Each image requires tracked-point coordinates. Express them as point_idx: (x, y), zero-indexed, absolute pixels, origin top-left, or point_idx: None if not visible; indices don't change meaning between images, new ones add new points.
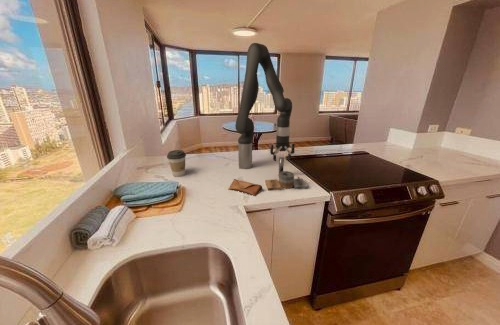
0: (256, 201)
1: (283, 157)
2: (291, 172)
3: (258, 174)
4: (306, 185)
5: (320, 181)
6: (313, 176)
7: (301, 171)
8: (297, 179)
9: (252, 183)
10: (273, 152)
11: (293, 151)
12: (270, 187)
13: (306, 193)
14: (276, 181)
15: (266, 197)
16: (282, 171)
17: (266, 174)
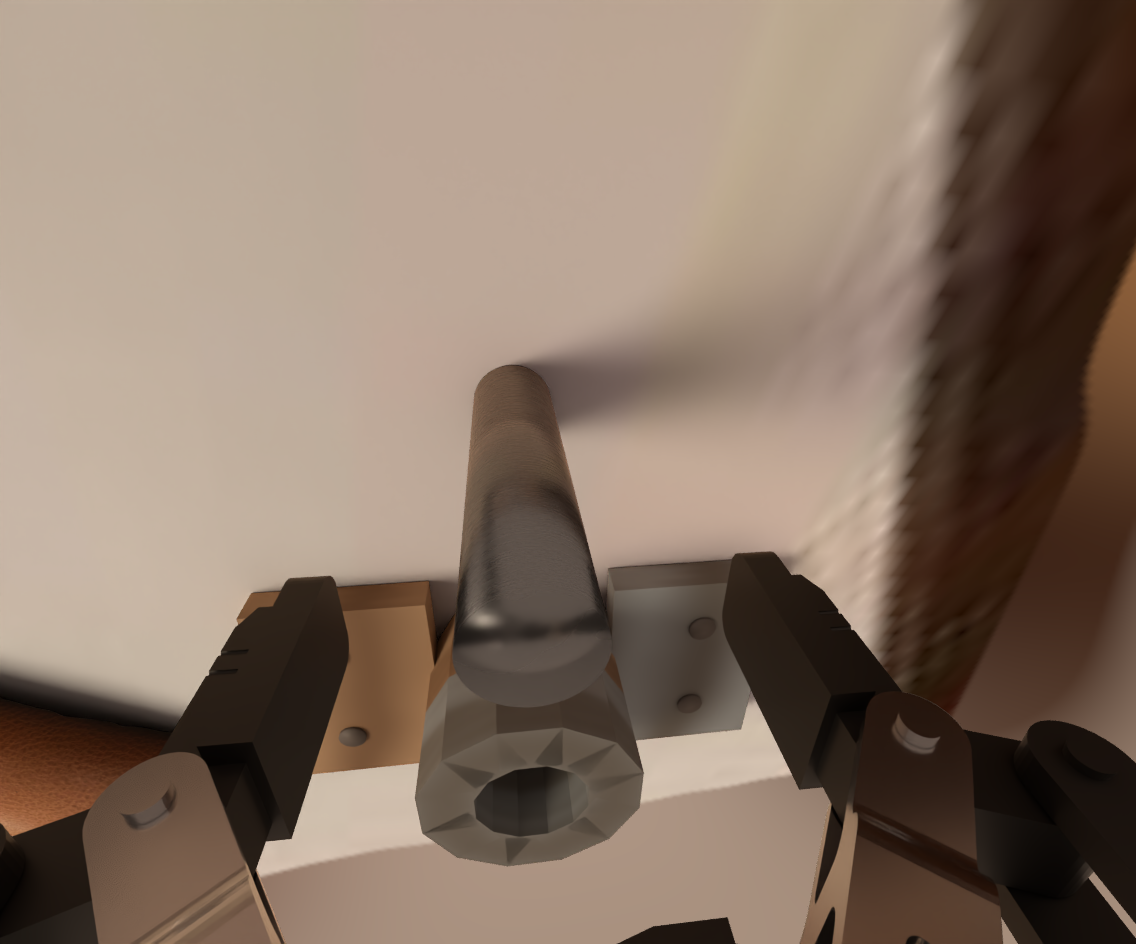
0: None
1: (601, 633)
2: (625, 760)
3: (68, 319)
4: (733, 718)
5: (956, 576)
6: (980, 450)
7: (936, 246)
8: (701, 607)
9: (57, 802)
10: (81, 932)
11: (1050, 927)
12: (324, 766)
13: (676, 766)
14: (406, 655)
15: (296, 830)
16: (487, 742)
17: (245, 331)
